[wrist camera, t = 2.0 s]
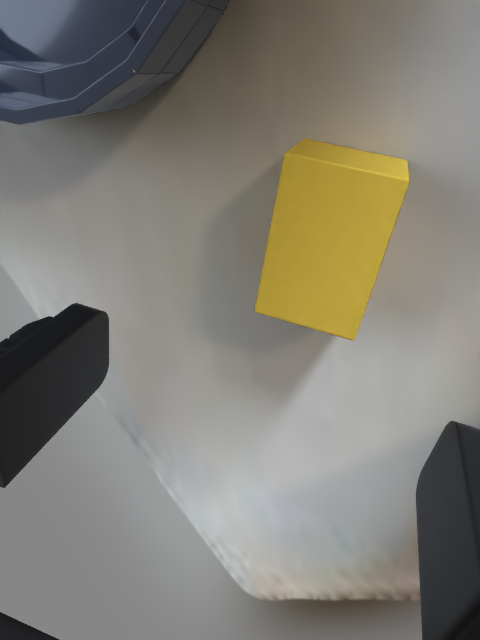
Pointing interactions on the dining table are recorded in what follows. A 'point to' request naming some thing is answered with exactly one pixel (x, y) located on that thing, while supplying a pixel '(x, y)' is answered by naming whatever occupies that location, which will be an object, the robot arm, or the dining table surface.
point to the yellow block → (329, 235)
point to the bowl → (93, 52)
